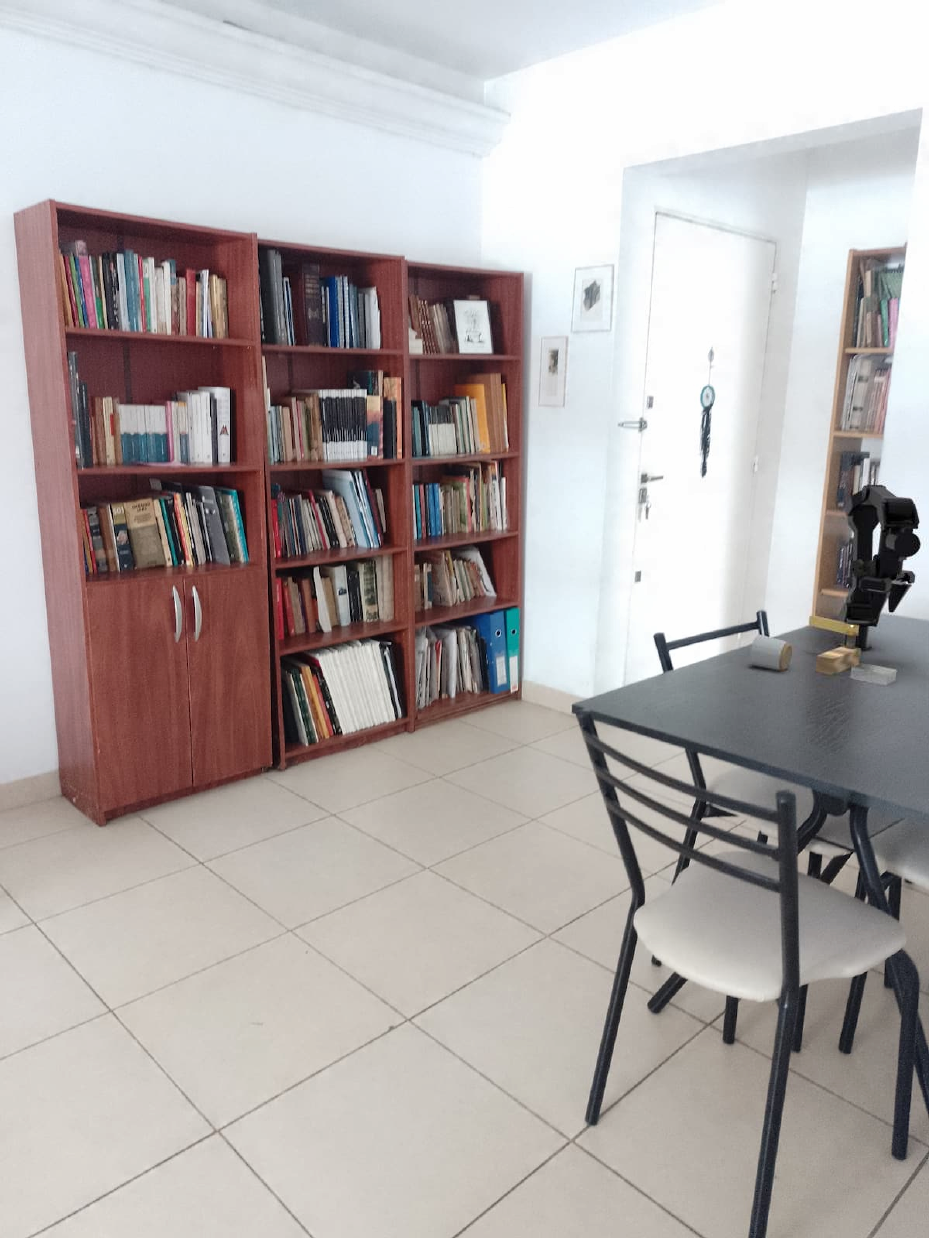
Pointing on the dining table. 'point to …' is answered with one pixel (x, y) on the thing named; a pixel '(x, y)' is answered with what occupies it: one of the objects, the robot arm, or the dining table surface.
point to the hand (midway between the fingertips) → (883, 614)
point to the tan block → (839, 658)
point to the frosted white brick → (873, 674)
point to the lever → (834, 625)
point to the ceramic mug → (770, 653)
